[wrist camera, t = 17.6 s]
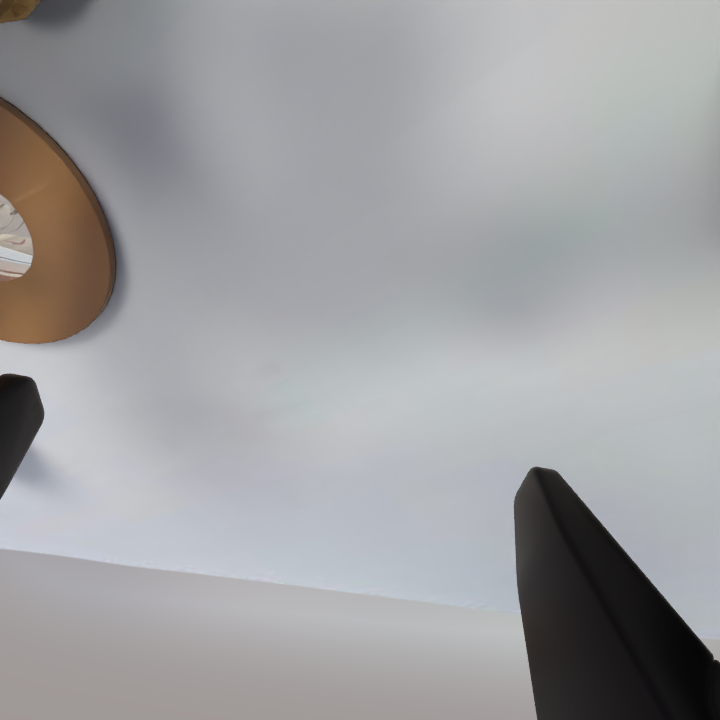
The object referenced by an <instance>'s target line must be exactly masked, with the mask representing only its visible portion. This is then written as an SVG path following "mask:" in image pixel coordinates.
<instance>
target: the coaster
mask: <svg viewBox="0 0 720 720" xmlns="http://www.w3.org/2000/svg"><path fill="white" fill-rule="evenodd" d="M0 194H1V195H2V196H3V197H4V198H6V199H7V200H8V201H9V202H10V203H11V205H12V206H13V207H14V208H15V210H16V211H17V212H18V213H19V215H20V216H21V217H22V219H23V220H24V222H25V225H26V227H27V229H28V231H29V233H30V235H31V238H32V245H33V252H34V254H33V258H32V262H31V266H30V268H29V269H28V270H27V271H26V272H25V273H24V274H23V276H21V277H18V278H16V279H13V280H11V281H0V340H4V341H8V342H16V343H30V344H39V343H48V342H54V341H58V340H62V339H66V338H68V337H71V336H73V335H75V334H77V333H79V332H80V331H82V330H83V329H85V328H86V327H88V326H89V325H90V324H91V323H92V322H93V321H94V320H95V319H96V318H97V317H98V316H99V315H100V313H101V312H102V311H103V309H104V308H105V306H106V305H107V303H108V300H109V298H110V296H111V293H112V289H113V285H114V280H115V266H116V263H115V253H114V246H113V242H112V237H111V233H110V230H109V227H108V224H107V221H106V219H105V216H104V213H103V211H102V209H101V207H100V205H99V203H98V201H97V199H96V197H95V195H94V193H93V192H92V190H91V188H90V187H89V185H88V183H87V182H86V180H85V179H84V177H83V175H82V174H81V173H80V172H79V170H78V169H77V168H76V166H75V165H74V164H73V162H72V161H71V160H70V158H69V157H68V156H67V155H66V154H65V153H64V152H63V150H62V149H61V148H60V147H59V146H58V145H57V144H56V143H55V142H54V141H53V139H52V138H51V137H49V136H48V135H47V134H46V133H45V132H44V131H43V130H42V129H41V128H40V127H39V126H38V125H36V124H35V123H34V122H33V121H32V120H31V119H29V118H28V117H27V116H25V115H24V114H23V113H21V112H20V111H19V110H18V109H16V108H15V107H14V106H12V105H11V104H9V103H8V102H6V101H4V100H3V99H1V98H0Z"/></svg>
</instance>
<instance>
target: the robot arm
mask: <svg viewBox="0 0 720 720" xmlns="http://www.w3.org/2000/svg"><path fill="white" fill-rule="evenodd" d="M43 419H44V408H43V405H42V402H41V399H40V395H39V392H38V389H37V386H36V383H35V381H34V380H33V379H32V378H30V377H27V376H21V375H16V374H3V375H1V376H0V499H1V497H2V496H3V494H4V492H5V491H6V489H7V487H8V485H9V484H10V482H11V480H12V478H13V476H14V474H15V473H16V471H17V469H18V467H19V465H20V463H21V462H22V460H23V458H24V456H25V454H26V452H27V451H28V449H29V447H30V445H31V443H32V441H33V439H34V438H35V436H36V434H37V432H38V430H39V428H40V427H41V425H42V422H43ZM514 520H515V545H516V571H517V586H518V594H519V602H520V608H521V615H522V622H523V628H524V634H525V641H526V647H527V654H528V661H529V667H530V674H531V681H532V687H533V693H534V701H535V707H536V713H537V720H720V662H719V661H717V660H714V658H713V655H712V653H711V652H710V651H709V650H708V649H707V647H706V646H705V645H704V644H703V643H702V641H701V640H700V639H699V638H698V637H697V636H696V634H695V633H694V632H693V631H692V630H691V628H690V627H689V626H688V625H687V624H686V623H685V621H684V620H683V619H682V618H681V617H680V616H679V614H678V613H677V612H676V611H675V610H674V608H673V607H672V606H671V605H670V604H669V603H668V601H667V600H666V599H665V598H664V597H663V595H662V594H661V593H660V592H659V591H658V590H657V588H656V587H655V586H654V585H653V584H652V583H651V581H650V580H649V579H648V578H647V577H646V575H645V574H644V573H643V572H642V571H641V570H640V568H639V567H638V566H637V565H636V564H635V563H634V561H633V560H632V559H631V558H630V557H629V555H628V554H627V553H626V552H625V551H624V550H623V548H622V547H621V546H620V545H619V544H618V542H617V541H616V540H615V539H614V538H613V537H612V535H611V534H610V533H609V532H608V531H607V530H606V528H605V527H604V526H603V525H602V524H601V522H600V521H599V520H598V519H597V518H596V517H595V515H594V514H593V513H592V512H591V511H590V509H589V508H588V507H587V506H586V505H585V504H584V502H583V501H582V500H581V499H580V498H579V497H578V495H577V494H576V493H575V492H574V491H573V489H572V488H571V487H570V486H569V485H568V484H567V482H566V481H565V480H564V479H563V478H562V476H561V475H560V474H559V473H558V472H556V471H555V470H552V469H547V468H541V467H533V468H531V469H530V471H529V472H528V474H527V476H526V477H525V479H524V481H523V483H522V484H521V486H520V488H519V490H518V491H517V493H516V496H515V500H514Z"/></svg>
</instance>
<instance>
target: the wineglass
mask: <svg viewBox="0 0 720 720" xmlns="http://www.w3.org/2000/svg"><path fill="white" fill-rule="evenodd" d="M33 254H34V252H33V245H32V238H31V235H30V233H29V231H28V229H27V227H26V225H25V222H24V220H23V219H22V217H21V216H20V215H19V213H18V212H17V211H16V210H15V208H14V207H13V206H12V205H11V203H10V202H9V201H8V200H7V199H6V198H4V197H3V196H2V195H1V194H0V281H11V280H13V279H16V278H18V277H21V276H23V274H24V273H25V272H26V271H27V270H28V269H29V268H30V266H31V262H32V258H33Z"/></svg>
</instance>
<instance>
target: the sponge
mask: <svg viewBox="0 0 720 720" xmlns="http://www.w3.org/2000/svg"><path fill="white" fill-rule="evenodd" d="M40 1H41V0H0V23H3V22H10V21H17V20H23V19H26V18H27V17H28V16H29V15H30V13H31V12H32V11H33V10H34V9H35V7H36V6H37V5H38V4H39V2H40Z"/></svg>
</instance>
